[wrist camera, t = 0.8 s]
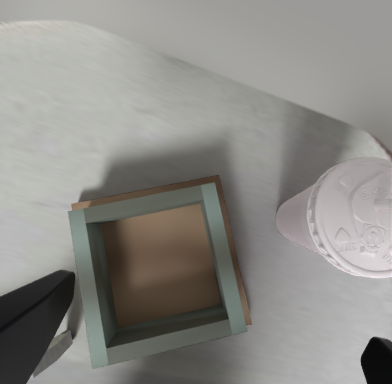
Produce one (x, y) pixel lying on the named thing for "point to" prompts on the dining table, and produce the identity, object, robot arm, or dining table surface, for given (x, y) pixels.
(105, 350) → the dock
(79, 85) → the dining table surface
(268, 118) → the dining table surface
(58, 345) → the caliper
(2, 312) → the robot arm
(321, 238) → the smoothie
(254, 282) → the dining table surface
